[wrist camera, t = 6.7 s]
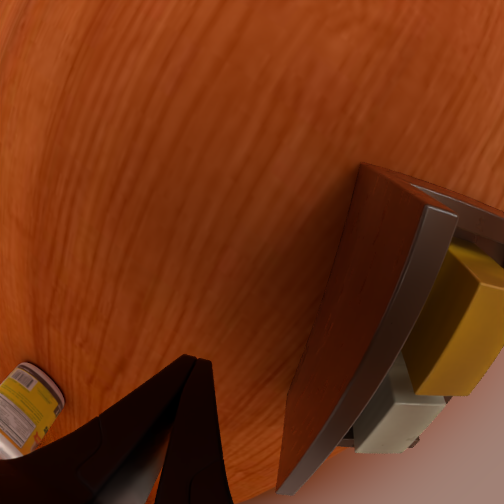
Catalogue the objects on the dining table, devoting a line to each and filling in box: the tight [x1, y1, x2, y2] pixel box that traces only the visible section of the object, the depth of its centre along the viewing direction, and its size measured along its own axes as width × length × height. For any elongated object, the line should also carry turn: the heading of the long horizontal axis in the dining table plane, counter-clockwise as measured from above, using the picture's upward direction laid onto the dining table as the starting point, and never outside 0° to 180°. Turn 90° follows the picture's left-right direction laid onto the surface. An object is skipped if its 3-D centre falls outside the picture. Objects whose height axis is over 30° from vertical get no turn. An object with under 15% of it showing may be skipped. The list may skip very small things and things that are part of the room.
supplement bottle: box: [0, 362, 64, 459], centre depth 15 cm, size 6×6×10 cm
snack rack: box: [275, 162, 504, 496], centre depth 9 cm, size 8×12×6 cm, turn 171°
